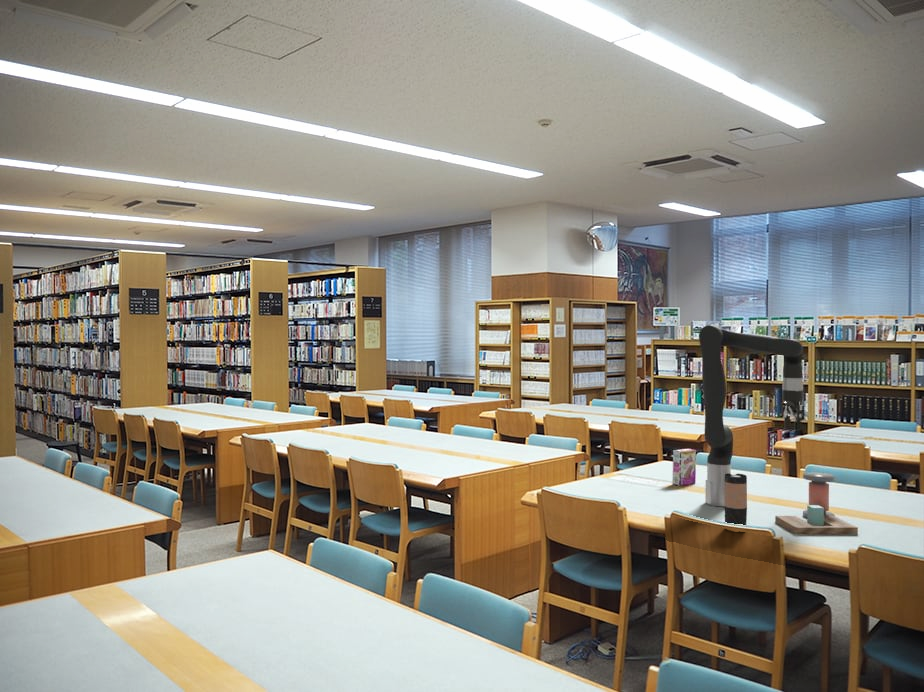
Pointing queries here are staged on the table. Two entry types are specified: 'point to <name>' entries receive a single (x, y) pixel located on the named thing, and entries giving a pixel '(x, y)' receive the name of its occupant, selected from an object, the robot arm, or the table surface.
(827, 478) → the bobbin
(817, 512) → the teal peg
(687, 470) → the candy bar box
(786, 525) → the notched board
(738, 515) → the travel mug
